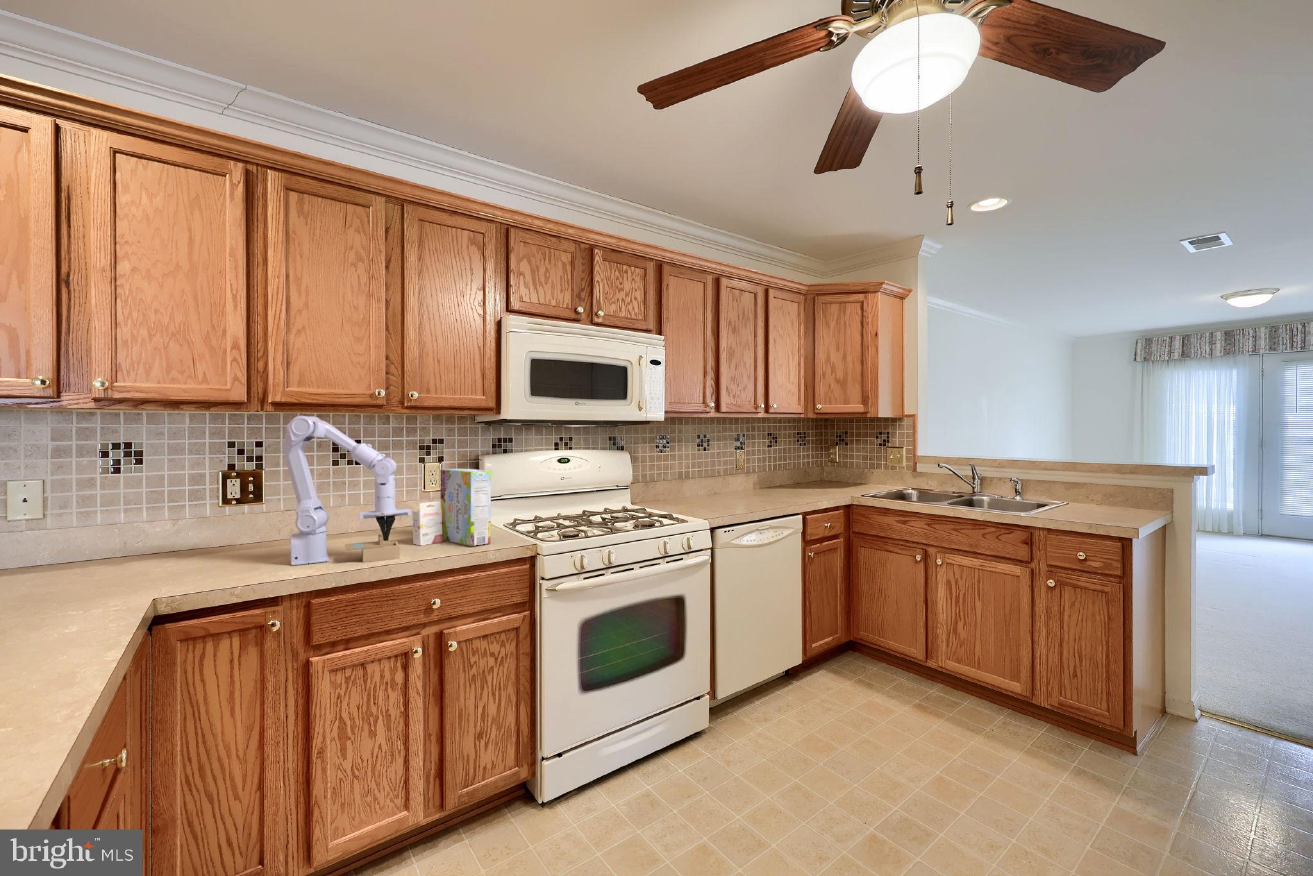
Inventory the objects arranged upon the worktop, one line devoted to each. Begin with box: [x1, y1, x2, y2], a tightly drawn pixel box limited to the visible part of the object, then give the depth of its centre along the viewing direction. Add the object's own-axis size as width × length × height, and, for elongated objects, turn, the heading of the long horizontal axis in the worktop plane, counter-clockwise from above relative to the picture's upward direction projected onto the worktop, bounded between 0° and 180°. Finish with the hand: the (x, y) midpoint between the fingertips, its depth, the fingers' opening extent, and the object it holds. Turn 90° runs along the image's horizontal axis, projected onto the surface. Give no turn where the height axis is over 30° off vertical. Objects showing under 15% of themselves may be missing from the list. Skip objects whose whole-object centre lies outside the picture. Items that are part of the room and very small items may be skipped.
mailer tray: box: [361, 540, 401, 563], centre depth 174 cm, size 10×8×4 cm
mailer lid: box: [344, 534, 384, 552], centre depth 172 cm, size 10×8×3 cm
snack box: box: [439, 468, 492, 547], centre depth 199 cm, size 22×9×26 cm, turn 49°
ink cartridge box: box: [411, 500, 443, 546], centre depth 196 cm, size 9×5×15 cm, turn 143°
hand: (385, 540), depth 175 cm, fingers closed
